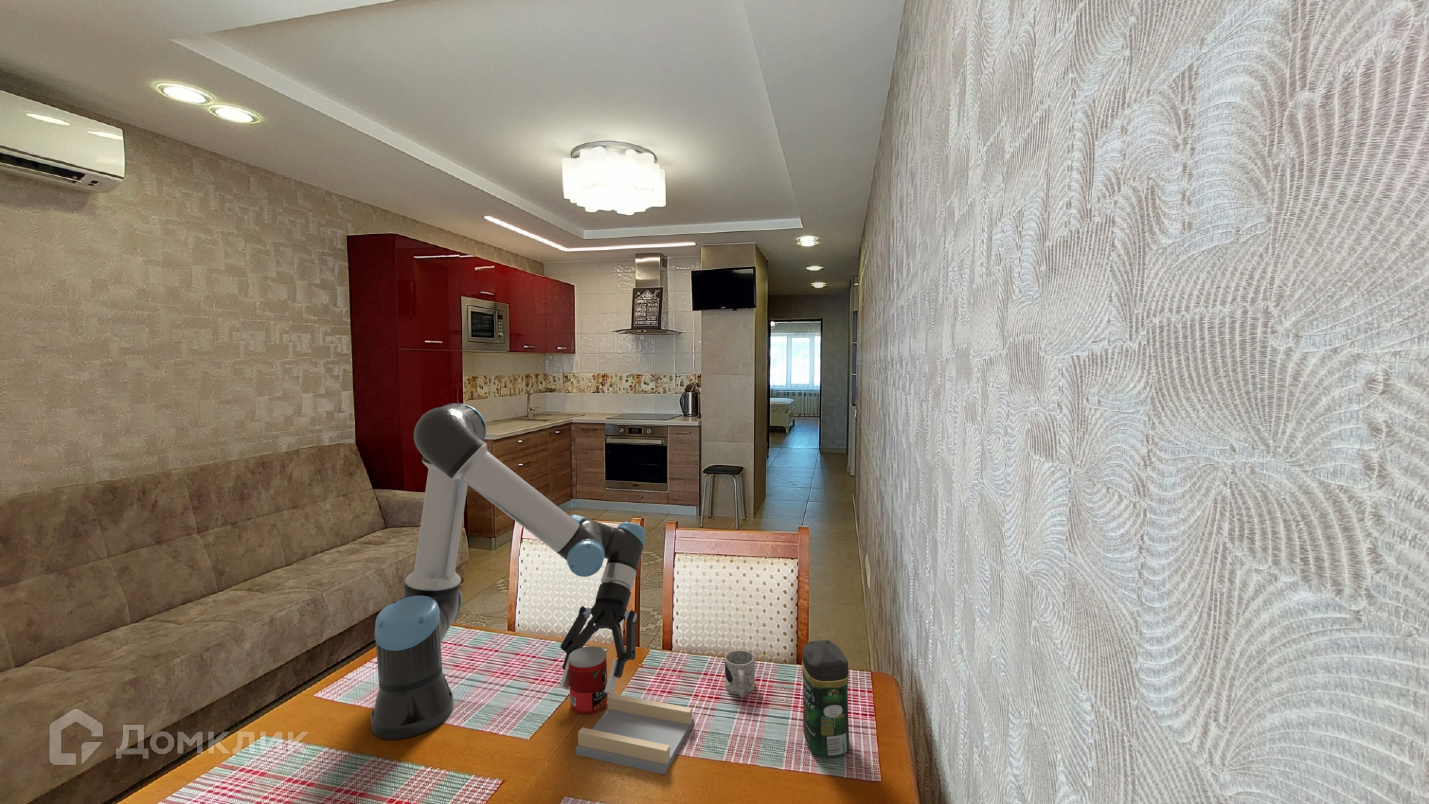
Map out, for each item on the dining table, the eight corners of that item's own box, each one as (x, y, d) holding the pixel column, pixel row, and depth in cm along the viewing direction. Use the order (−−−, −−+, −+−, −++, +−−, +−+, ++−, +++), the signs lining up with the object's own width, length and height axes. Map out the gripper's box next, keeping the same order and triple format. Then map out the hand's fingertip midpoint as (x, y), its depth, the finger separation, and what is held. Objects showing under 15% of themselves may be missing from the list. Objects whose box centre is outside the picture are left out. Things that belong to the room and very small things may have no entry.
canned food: (600, 717, 117) (598, 666, 116) (563, 713, 118) (561, 662, 117) (613, 695, 124) (611, 647, 123) (579, 692, 126) (577, 644, 125)
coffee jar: (798, 728, 112) (797, 637, 111) (837, 724, 113) (836, 634, 111) (812, 762, 102) (811, 663, 101) (854, 758, 103) (854, 660, 102)
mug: (724, 678, 130) (723, 650, 130) (753, 677, 130) (752, 649, 130) (726, 704, 120) (726, 674, 120) (758, 703, 120) (757, 673, 120)
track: (575, 754, 106) (575, 735, 105) (614, 707, 120) (613, 690, 120) (664, 774, 100) (664, 754, 100) (694, 722, 114) (693, 705, 114)
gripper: (665, 596, 131) (641, 702, 117) (580, 590, 138) (548, 689, 124) (654, 583, 126) (628, 692, 112) (566, 577, 133) (531, 679, 119)
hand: (586, 690), depth 118 cm, fingers open, 10 cm apart
